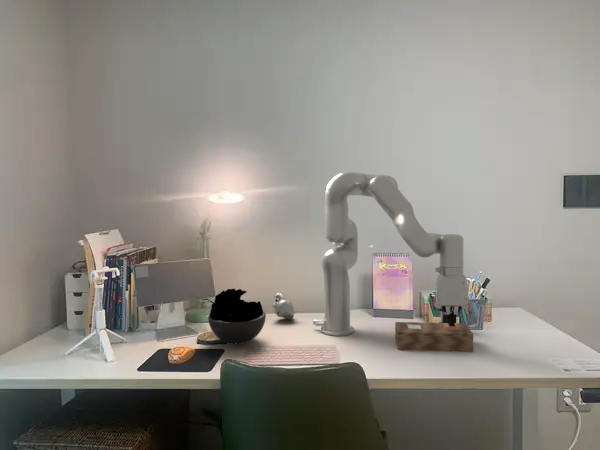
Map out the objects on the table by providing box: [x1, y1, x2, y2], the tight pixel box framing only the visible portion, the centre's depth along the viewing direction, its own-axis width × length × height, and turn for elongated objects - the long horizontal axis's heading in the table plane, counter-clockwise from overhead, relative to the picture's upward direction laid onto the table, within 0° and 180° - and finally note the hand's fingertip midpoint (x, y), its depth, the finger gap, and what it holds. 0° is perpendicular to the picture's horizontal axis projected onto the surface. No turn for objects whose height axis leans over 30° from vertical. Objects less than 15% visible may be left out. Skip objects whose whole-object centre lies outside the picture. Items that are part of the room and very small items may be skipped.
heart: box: [271, 292, 295, 321], centre depth 191 cm, size 10×10×12 cm
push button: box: [438, 306, 453, 323], centre depth 175 cm, size 7×5×10 cm
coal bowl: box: [207, 288, 267, 345], centre depth 163 cm, size 20×20×19 cm
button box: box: [394, 321, 474, 353], centre depth 159 cm, size 24×12×6 cm, turn 82°
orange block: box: [443, 322, 459, 330], centre depth 158 cm, size 4×4×6 cm
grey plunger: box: [407, 325, 422, 330], centre depth 159 cm, size 4×4×6 cm
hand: (451, 325), depth 157 cm, fingers closed
